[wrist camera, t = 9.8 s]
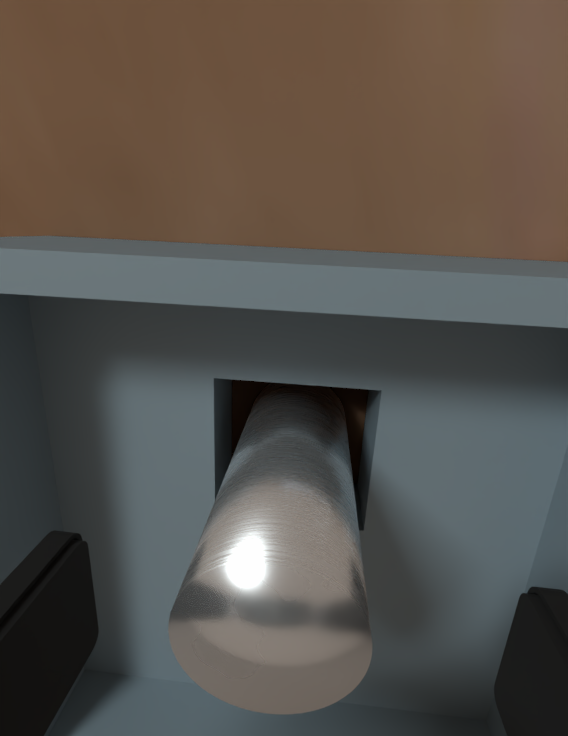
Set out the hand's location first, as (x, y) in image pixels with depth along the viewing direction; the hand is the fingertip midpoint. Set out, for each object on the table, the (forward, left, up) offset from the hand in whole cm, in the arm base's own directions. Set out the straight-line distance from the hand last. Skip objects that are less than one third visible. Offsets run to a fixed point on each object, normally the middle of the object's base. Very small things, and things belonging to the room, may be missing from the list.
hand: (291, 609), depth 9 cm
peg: (0, 0, -9) cm, 9 cm away
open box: (0, +3, -9) cm, 9 cm away
